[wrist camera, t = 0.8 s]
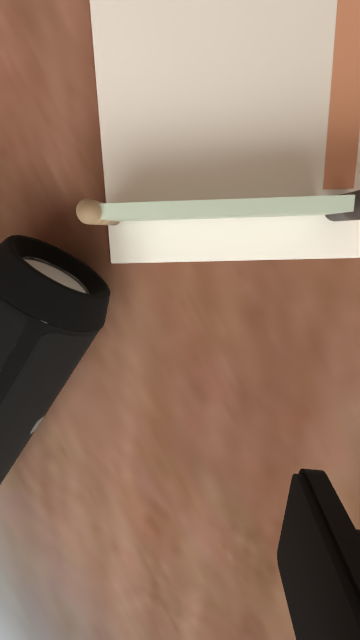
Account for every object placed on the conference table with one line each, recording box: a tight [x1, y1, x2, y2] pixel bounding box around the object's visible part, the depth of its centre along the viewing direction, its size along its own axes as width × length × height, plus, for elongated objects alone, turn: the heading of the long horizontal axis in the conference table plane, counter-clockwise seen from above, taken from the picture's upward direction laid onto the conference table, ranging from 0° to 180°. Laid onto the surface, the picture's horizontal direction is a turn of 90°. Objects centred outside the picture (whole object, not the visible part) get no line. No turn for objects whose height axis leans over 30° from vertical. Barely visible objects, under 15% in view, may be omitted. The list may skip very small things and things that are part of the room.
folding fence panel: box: [76, 195, 355, 225], centre depth 24 cm, size 18×2×6 cm, turn 92°
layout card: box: [90, 0, 360, 263], centre depth 25 cm, size 34×28×1 cm
